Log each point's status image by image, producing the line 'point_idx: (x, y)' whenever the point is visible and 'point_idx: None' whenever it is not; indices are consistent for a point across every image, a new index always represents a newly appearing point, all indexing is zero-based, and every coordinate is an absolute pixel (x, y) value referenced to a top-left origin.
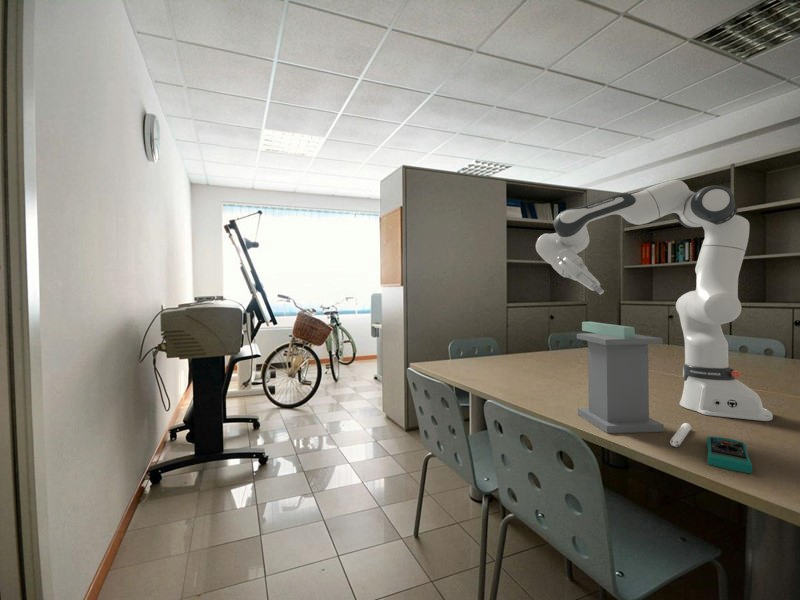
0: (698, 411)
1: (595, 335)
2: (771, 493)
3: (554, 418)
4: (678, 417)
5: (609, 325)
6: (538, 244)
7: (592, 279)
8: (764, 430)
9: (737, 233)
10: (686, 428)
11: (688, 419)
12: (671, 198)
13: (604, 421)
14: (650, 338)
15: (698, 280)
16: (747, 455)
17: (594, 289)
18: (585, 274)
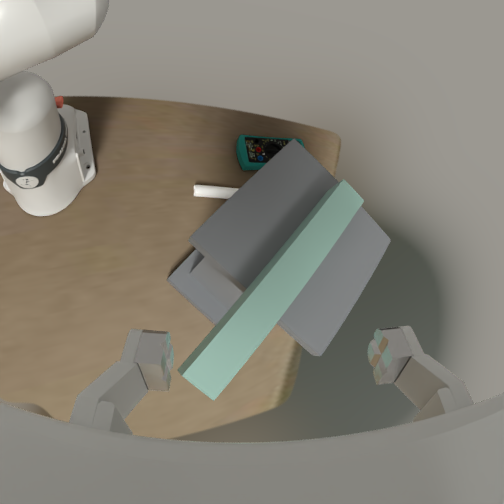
0: (84, 184)
1: (334, 289)
2: (325, 139)
3: (284, 363)
4: (134, 207)
5: (326, 249)
6: None
7: (205, 443)
8: (132, 118)
9: None
10: (219, 187)
11: (136, 193)
12: None
13: None
14: (314, 159)
15: None
16: (280, 138)
17: (122, 416)
18: (409, 424)
